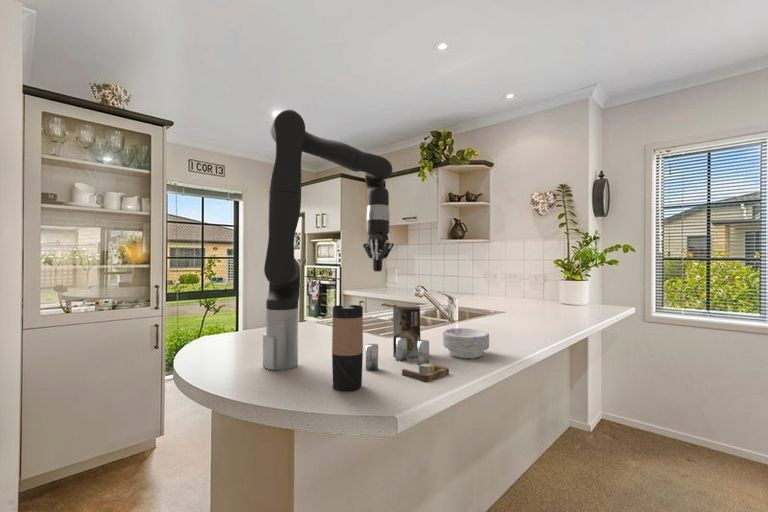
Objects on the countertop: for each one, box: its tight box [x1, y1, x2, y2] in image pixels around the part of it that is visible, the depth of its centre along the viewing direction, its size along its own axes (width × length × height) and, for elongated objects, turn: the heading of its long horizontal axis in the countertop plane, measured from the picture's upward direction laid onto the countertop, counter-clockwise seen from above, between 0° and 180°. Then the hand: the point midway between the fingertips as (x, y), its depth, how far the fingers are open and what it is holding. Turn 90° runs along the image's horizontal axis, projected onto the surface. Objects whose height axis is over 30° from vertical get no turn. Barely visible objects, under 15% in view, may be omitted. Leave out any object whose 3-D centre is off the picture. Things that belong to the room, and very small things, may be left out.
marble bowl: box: [442, 327, 490, 359], centre depth 126 cm, size 15×15×8 cm
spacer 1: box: [365, 343, 379, 372], centre depth 109 cm, size 4×4×7 cm
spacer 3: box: [416, 339, 430, 366], centre depth 115 cm, size 4×4×7 cm
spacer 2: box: [395, 337, 408, 362], centre depth 120 cm, size 4×4×7 cm
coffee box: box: [392, 305, 421, 358], centre depth 126 cm, size 9×6×16 cm
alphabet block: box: [418, 363, 435, 374], centre depth 103 cm, size 3×3×3 cm
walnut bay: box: [401, 363, 450, 383], centre depth 104 cm, size 10×8×2 cm
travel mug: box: [331, 304, 364, 393], centre depth 94 cm, size 8×8×20 cm
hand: (377, 271), depth 125 cm, fingers closed
